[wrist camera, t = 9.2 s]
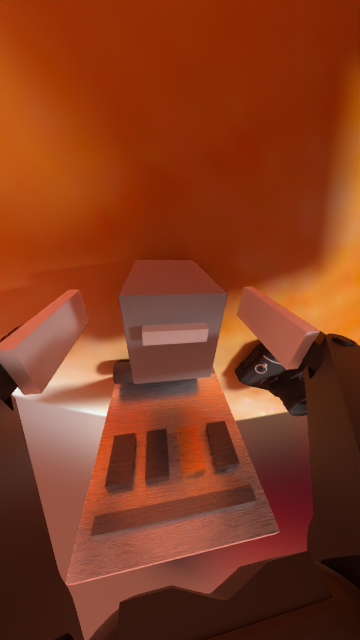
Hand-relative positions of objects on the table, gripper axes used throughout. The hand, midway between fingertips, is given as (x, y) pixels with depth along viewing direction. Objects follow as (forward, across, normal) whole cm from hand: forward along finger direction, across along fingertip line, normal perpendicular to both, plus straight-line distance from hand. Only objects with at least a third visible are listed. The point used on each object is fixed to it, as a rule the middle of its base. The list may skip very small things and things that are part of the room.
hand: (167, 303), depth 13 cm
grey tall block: (+3, 0, 0) cm, 3 cm away
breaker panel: (+3, 0, -12) cm, 12 cm away
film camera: (+3, +17, -12) cm, 21 cm away
